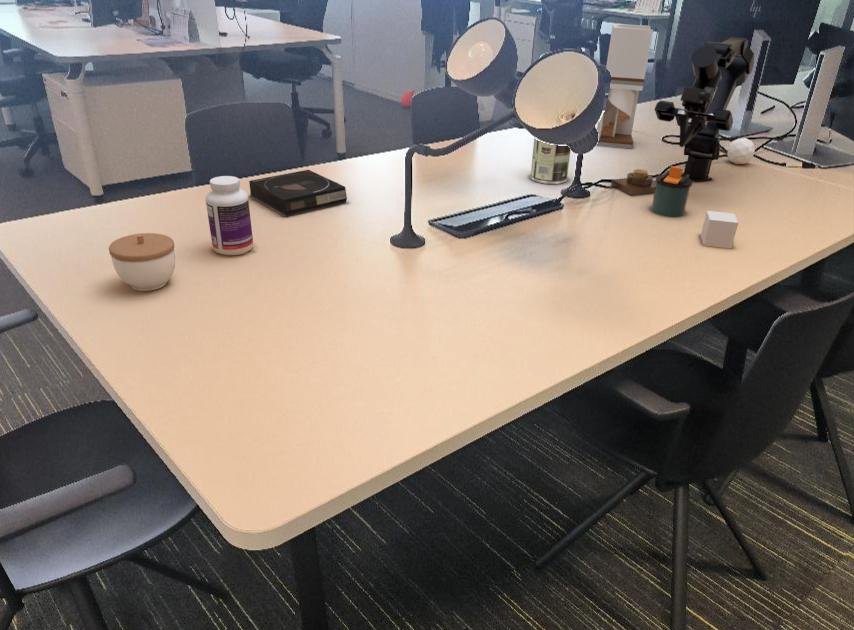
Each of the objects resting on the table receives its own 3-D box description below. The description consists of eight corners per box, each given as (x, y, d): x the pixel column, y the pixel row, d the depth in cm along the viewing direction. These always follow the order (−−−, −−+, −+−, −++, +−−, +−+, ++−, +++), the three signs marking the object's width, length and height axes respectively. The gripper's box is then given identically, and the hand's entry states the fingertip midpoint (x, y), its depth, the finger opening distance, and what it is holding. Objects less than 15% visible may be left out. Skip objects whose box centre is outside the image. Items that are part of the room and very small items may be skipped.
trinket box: (143, 302, 121) (133, 252, 116) (104, 286, 126) (93, 237, 121) (192, 281, 129) (185, 233, 124) (154, 266, 134) (145, 220, 129)
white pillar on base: (596, 145, 226) (614, 27, 208) (595, 137, 235) (612, 23, 217) (632, 148, 225) (653, 29, 207) (630, 140, 234) (650, 25, 216)
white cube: (700, 235, 161) (706, 210, 158) (727, 238, 160) (734, 213, 157) (703, 245, 156) (709, 219, 153) (731, 248, 155) (738, 222, 152)
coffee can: (564, 173, 198) (571, 123, 190) (569, 185, 189) (576, 132, 182) (528, 172, 198) (533, 121, 190) (531, 183, 189) (536, 130, 182)
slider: (667, 177, 171) (670, 165, 169) (681, 179, 170) (684, 168, 168) (663, 181, 167) (665, 170, 166) (677, 184, 166) (680, 172, 165)
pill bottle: (261, 245, 145) (254, 177, 137) (239, 260, 138) (231, 189, 131) (227, 239, 147) (219, 171, 139) (204, 253, 140) (194, 182, 133)
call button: (640, 175, 189) (642, 168, 189) (649, 179, 187) (650, 172, 186) (630, 176, 188) (631, 169, 187) (638, 180, 185) (639, 173, 184)
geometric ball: (728, 170, 218) (723, 145, 218) (756, 163, 216) (750, 138, 216) (731, 164, 210) (725, 138, 211) (759, 156, 208) (753, 130, 209)
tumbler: (654, 203, 179) (661, 168, 175) (688, 209, 176) (696, 174, 171) (645, 212, 173) (653, 177, 168) (681, 219, 169) (689, 183, 165)
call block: (643, 181, 194) (645, 169, 193) (664, 191, 188) (667, 179, 186) (610, 185, 190) (613, 172, 188) (631, 196, 183) (633, 182, 182)
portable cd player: (287, 217, 159) (285, 200, 157) (250, 196, 170) (249, 180, 168) (347, 203, 169) (346, 187, 167) (309, 185, 180) (308, 169, 177)
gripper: (662, 67, 175) (639, 124, 174) (738, 77, 166) (715, 137, 165) (669, 91, 184) (647, 145, 184) (741, 101, 175) (719, 158, 175)
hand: (681, 146), depth 177 cm, fingers closed
